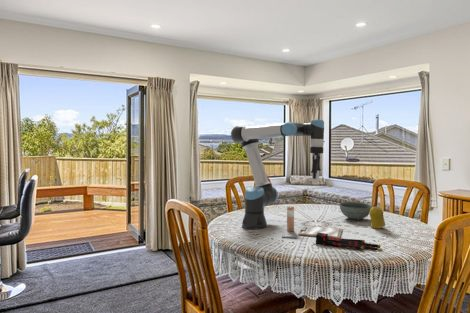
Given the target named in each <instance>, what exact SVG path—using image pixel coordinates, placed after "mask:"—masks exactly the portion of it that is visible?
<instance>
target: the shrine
mask: <svg viewBox="0 0 470 313" xmlns="http://www.w3.org/2000/svg"><path fill="white" fill-rule="evenodd" d="M368 216H370V217H369V218H370V223H371V224H370V227H371V229H377V230H378V229H381V228H382V229H383V228H385V227H386V221H385V217H384V210H383V209H382V208H381V207H380V206H378V205H377V204H374V205H372V208H371V209H370V213H369V215H368Z"/></svg>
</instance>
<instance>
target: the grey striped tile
mask: <svg viewBox="0 0 470 313" xmlns="http://www.w3.org/2000/svg"><path fill="white" fill-rule="evenodd" d="M281 239H298V234H297V233H296V234H295V233H282V234H281Z"/></svg>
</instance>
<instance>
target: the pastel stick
mask: <svg viewBox="0 0 470 313" xmlns="http://www.w3.org/2000/svg"><path fill="white" fill-rule="evenodd" d="M286 218H287V219H286V231H287V232H289V233H290V232H291V233H292V232H295V206H292V205H291V206H290V205H289V206H286Z"/></svg>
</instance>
